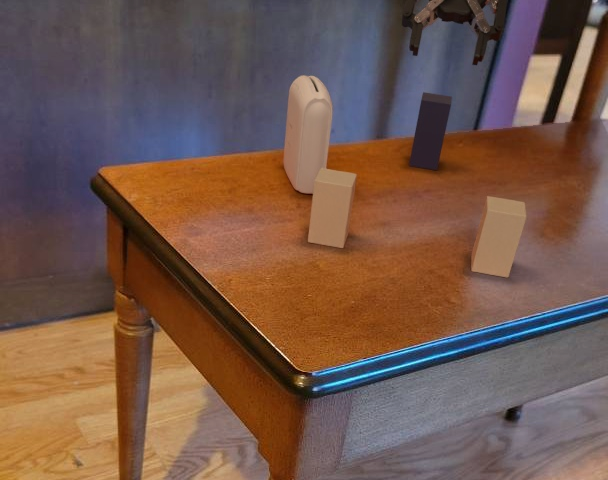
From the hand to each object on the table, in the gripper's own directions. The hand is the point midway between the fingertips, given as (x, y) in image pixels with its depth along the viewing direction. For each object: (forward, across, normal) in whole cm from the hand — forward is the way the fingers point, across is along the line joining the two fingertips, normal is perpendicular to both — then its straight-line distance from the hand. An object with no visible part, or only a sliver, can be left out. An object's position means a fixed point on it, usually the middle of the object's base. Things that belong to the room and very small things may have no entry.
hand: (445, 57), depth 104 cm
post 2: (+36, +9, -18) cm, 41 cm away
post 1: (+36, -9, -18) cm, 41 cm away
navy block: (+14, 0, +3) cm, 15 cm away
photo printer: (+24, -15, -6) cm, 29 cm away
